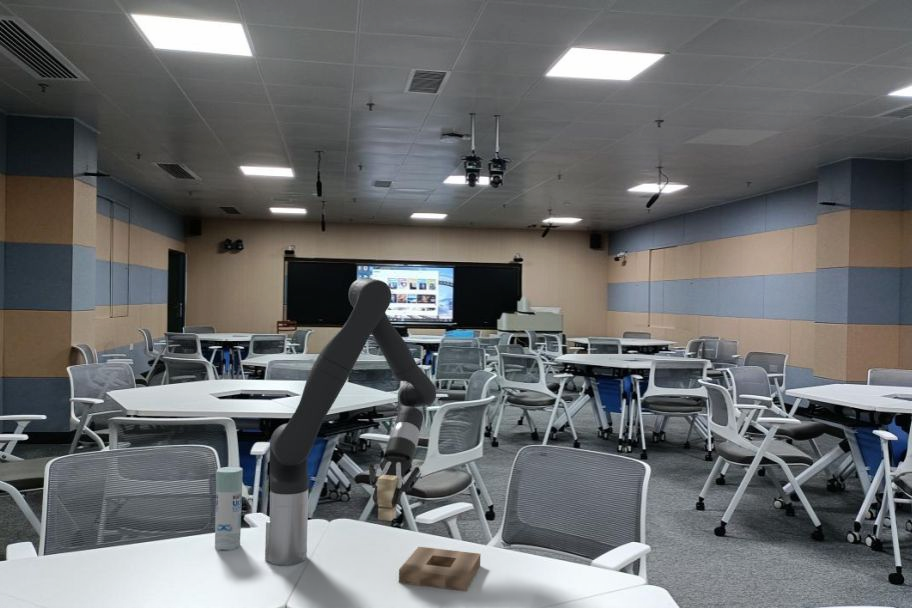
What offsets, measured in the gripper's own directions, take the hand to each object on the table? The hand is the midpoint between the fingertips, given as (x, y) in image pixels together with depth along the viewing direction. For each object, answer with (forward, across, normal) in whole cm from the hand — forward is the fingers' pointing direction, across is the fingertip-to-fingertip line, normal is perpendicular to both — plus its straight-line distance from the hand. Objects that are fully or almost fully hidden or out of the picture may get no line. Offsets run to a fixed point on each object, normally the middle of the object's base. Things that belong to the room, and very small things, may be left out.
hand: (384, 503), depth 156 cm
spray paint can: (+10, -44, +13) cm, 47 cm away
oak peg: (+2, 0, +4) cm, 5 cm away
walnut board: (+10, +14, +12) cm, 21 cm away
